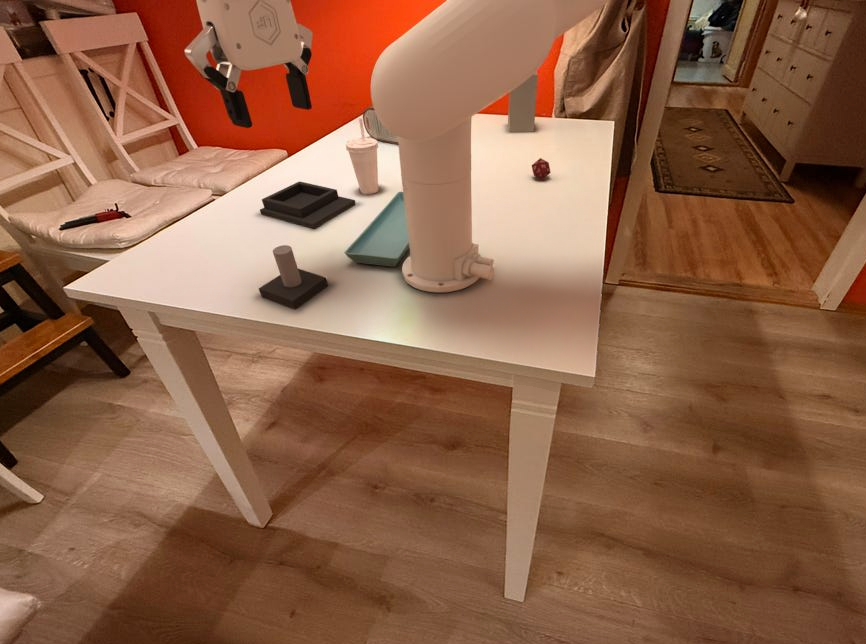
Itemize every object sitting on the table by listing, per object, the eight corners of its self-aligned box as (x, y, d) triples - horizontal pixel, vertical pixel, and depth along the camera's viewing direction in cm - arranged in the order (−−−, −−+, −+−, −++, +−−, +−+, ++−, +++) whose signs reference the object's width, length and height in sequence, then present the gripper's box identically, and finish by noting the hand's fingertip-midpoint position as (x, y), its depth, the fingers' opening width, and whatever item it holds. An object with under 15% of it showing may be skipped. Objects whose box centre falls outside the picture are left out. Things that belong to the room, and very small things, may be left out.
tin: (415, 144, 120) (412, 108, 115) (407, 147, 118) (404, 111, 113) (371, 135, 127) (366, 101, 121) (364, 139, 125) (358, 104, 119)
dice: (535, 183, 99) (536, 163, 96) (528, 175, 102) (530, 156, 99) (551, 181, 99) (553, 162, 97) (545, 173, 103) (546, 155, 100)
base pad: (355, 204, 93) (353, 191, 91) (314, 229, 85) (310, 214, 83) (304, 192, 98) (301, 179, 96) (261, 214, 90) (256, 200, 88)
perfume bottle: (533, 131, 126) (539, 53, 114) (509, 132, 126) (512, 54, 114) (531, 124, 131) (536, 49, 119) (507, 125, 131) (510, 49, 119)
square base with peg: (328, 285, 71) (317, 244, 66) (295, 309, 66) (281, 266, 61) (295, 274, 73) (282, 234, 68) (261, 296, 69) (245, 255, 64)
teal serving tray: (399, 201, 93) (398, 188, 92) (442, 204, 92) (442, 192, 90) (345, 266, 75) (342, 252, 73) (399, 272, 73) (397, 258, 71)
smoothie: (378, 197, 95) (367, 124, 86) (349, 195, 96) (335, 123, 87) (388, 185, 100) (378, 114, 90) (360, 184, 101) (348, 113, 91)
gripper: (170, -62, 42) (235, 139, 53) (313, -62, 52) (342, 105, 64) (126, -60, 45) (197, 129, 56) (270, -61, 55) (304, 98, 67)
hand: (274, 116), depth 60 cm, fingers open, 9 cm apart
